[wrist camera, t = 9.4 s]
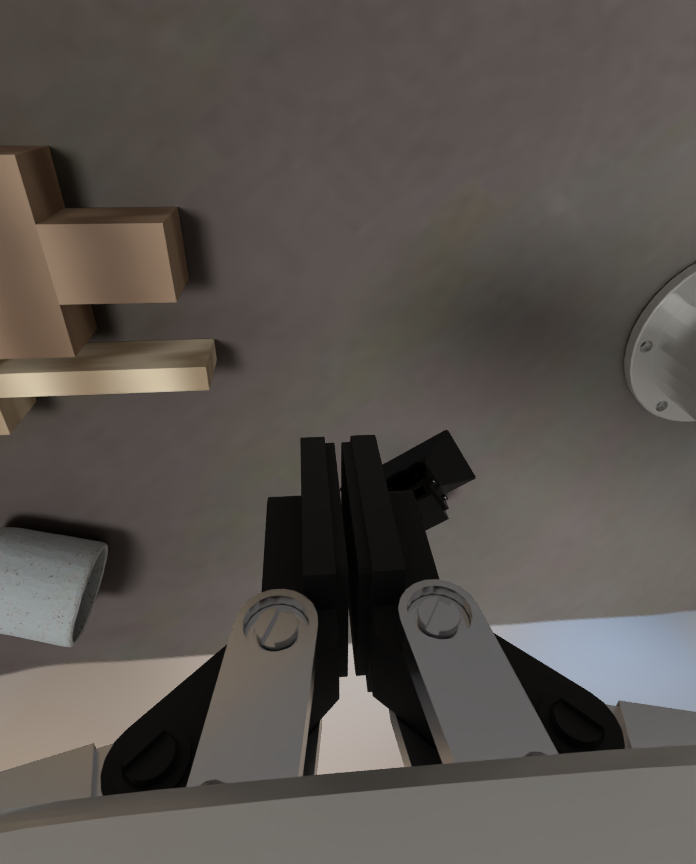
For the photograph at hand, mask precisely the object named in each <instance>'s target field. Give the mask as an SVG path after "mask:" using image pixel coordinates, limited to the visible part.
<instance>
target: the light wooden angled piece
mask: <svg viewBox="0 0 696 864" xmlns="http://www.w3.org/2000/svg"><path fill="white" fill-rule="evenodd" d="M216 362H217V357H216V350H215V343H214V339H192V340H159V341H126V342H93V343H86V344H85V345H84V347H83V348H82V349H81V350H80V352H79V353H78V354H77V355H76V357H60V358H24V359H0V435H10V434H11V433H12V432H13V431H14V429H15V428H16V427H17V425H18V424H19V423H20V422H21V420H22V419H23V418H24V417H25V415H26V414H27V413H28V411H29V410H30V409H31V408H32V406H33V405H34V404H35V403H36V398H35V397H38V396H64V395H90V394H116V393H143V392H169V391H195V390H209V389H210V386H211V382H212V378H213V374H214V370H215V366H216Z"/></svg>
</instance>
